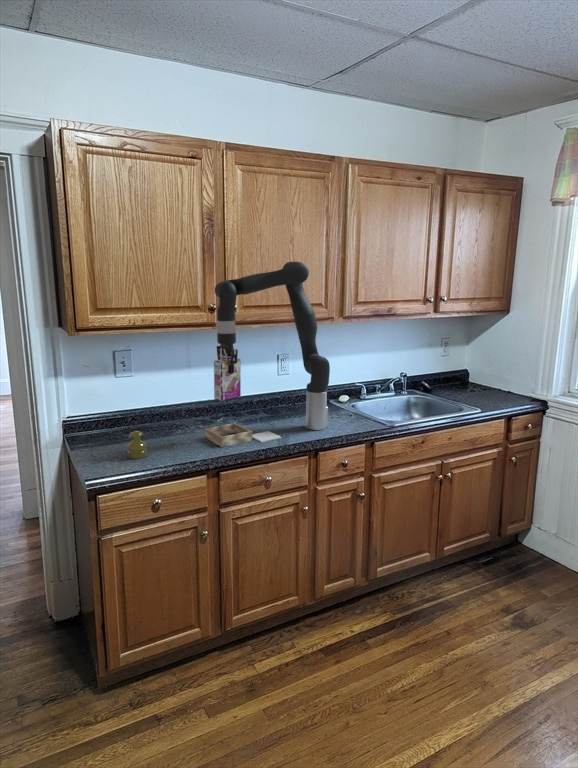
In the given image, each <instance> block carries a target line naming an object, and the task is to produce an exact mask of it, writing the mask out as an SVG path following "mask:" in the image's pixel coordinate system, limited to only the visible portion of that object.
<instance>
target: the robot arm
mask: <svg viewBox="0 0 578 768" xmlns="http://www.w3.org/2000/svg"><path fill="white" fill-rule="evenodd" d="M309 274H310V270H309V268H308V266H307V265H306V264H305V263H303V262H301V261H288V262H286V263H285V264H284V265H283V266H282V268H281V269H278V270H274V271H273V270H272V271H266V272H260V273H255V274H250V275H245V276H242V277H238V278H236V279H235V278H234V279H229V280H223V281H220V282H218V283H217V284H216V285H215V287H214V294H215V295H216V296H217V298H218V299H219V306H218V307H217V323H216V334H217V335H216V336H217V339H216V340H217V344H219V345H217V346H216V355H217V360H222V359H227V360H228V364H229V365H228V373H229V374H233V373H234V364H235V363H237V358H238V355H239V354H238V352H239V349H238V348H234V344H236V343H237V333H236V330H237V328H236V327H237V325H236V320H235V319H236V315H235V307H236V302H237V296H239V295H244V296H245V295H249V294H253V293H257V292H260V291H264V290H267V289H271V288H275V287H280V286H285V289H286V291H287V294H288V298H289V303H290V306H291V311H292V315H293V319H294V320H293V321H294V324H295V329H296V331H297V335H298V341H299V343H300V348H301V354H302V356H301V357H302V363H303V368H304V370H305V371H306V373H308V374H309V375H310V381H309V383H307V384H306V392H305V393H306V397H305V398H306V400H305V403H306V404H305V428H306V429H308V430H311V431H313V430H314V431H320V430H321V431H322V430H325V429H326V428H328V427H329V407H328V406H327V405H328V404H327V403H328V402H327V401H328V400H327V398H328V396H327V395H328V394H327V393H328V387H329V384H330V383H329V382H330V373H331V372H330V370H331V368H330V367H331V365H330V362H329V360H328V359H327V358H326V357H325V356H322V355H320V353H319V351H318V347H317V343H316V342H317V341H316V338H317V334H318V333H317V331H318V323H317V318H316V314H315V310H314V308H313V306H312V304H311V302H310V300H309V298H308V297H307V295H306V293H305V289H304V285H303V283H305V281H306V280H308V278H309ZM234 358H235V361H234ZM230 359H231V360H230Z"/></svg>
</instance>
